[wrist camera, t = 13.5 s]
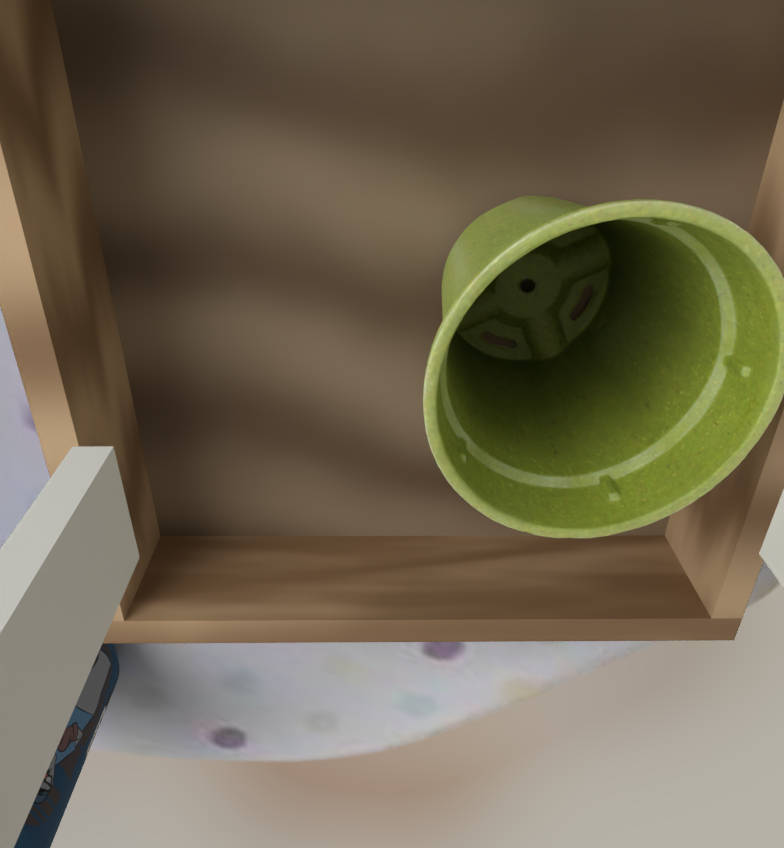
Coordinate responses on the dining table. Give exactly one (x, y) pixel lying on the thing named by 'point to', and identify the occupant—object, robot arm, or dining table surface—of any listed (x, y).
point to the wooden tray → (354, 291)
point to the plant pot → (601, 362)
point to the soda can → (71, 752)
